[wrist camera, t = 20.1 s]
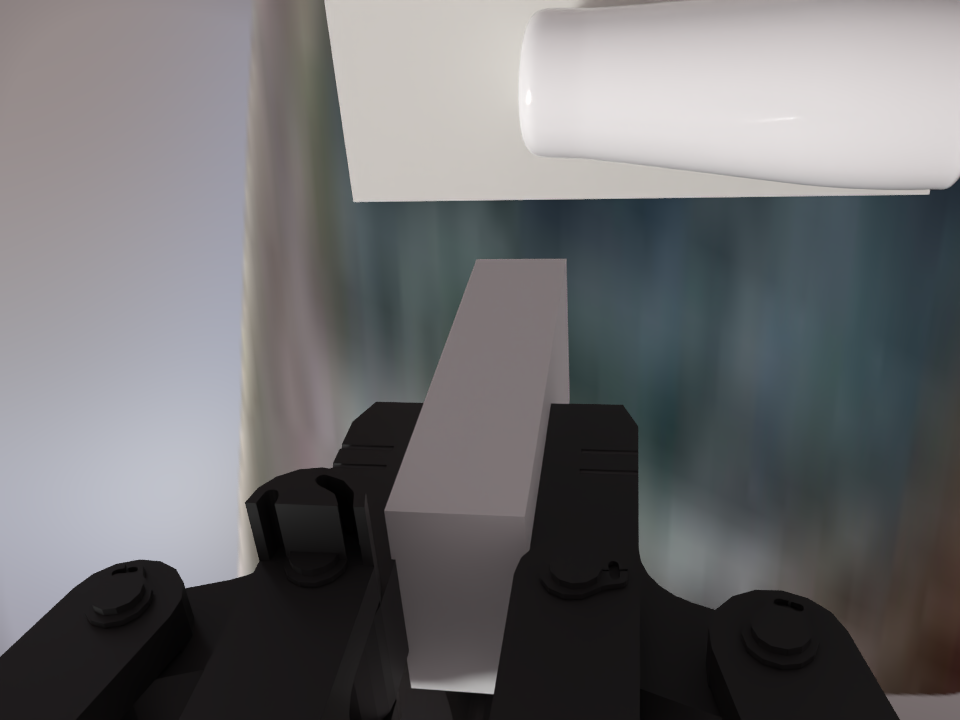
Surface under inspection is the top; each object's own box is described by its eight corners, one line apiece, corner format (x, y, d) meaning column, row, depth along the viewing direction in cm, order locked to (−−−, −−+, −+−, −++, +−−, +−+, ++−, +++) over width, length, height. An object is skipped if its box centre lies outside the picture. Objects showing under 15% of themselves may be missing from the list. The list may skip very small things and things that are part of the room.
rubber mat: (356, 198, 41) (353, 201, 41) (309, -130, 34) (305, -129, 34) (926, 190, 37) (929, 194, 37) (995, -181, 31) (998, -181, 30)
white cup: (507, 17, 30) (1013, 19, 27) (539, -35, 35) (965, -38, 32) (514, 207, 34) (955, 227, 31) (542, 134, 39) (920, 145, 36)
